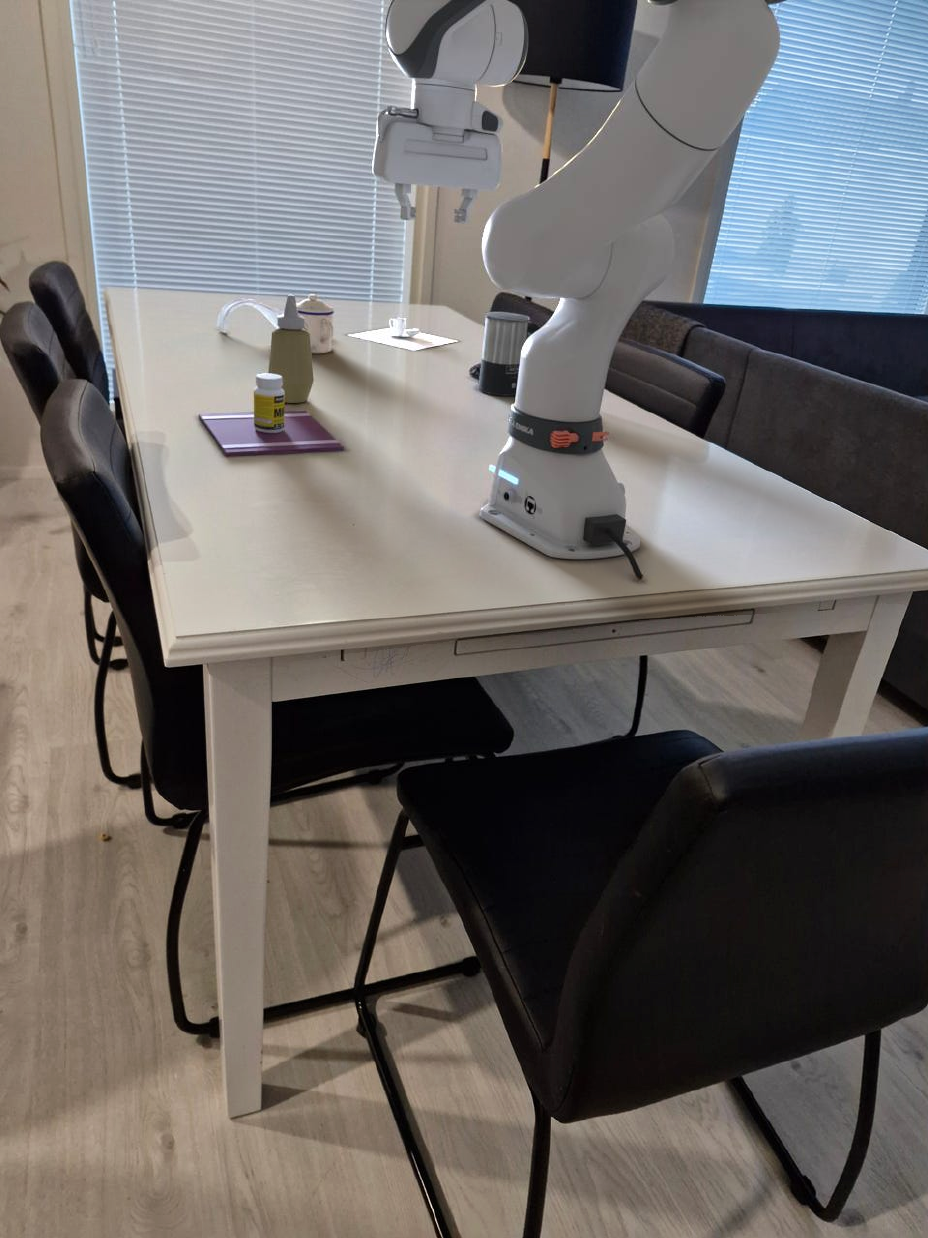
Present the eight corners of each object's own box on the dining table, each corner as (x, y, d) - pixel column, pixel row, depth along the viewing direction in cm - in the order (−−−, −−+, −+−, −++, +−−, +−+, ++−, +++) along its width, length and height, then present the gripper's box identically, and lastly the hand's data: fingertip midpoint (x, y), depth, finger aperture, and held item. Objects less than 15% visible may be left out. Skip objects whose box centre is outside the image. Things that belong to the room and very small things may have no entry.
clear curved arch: (305, 325, 219) (305, 295, 216) (324, 335, 211) (325, 304, 207) (212, 326, 207) (210, 294, 204) (229, 336, 198) (228, 303, 195)
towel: (344, 450, 135) (344, 446, 135) (226, 456, 127) (226, 451, 127) (305, 413, 150) (305, 409, 150) (198, 417, 143) (198, 413, 142)
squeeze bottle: (258, 399, 156) (256, 292, 147) (286, 391, 162) (286, 289, 154) (295, 408, 153) (295, 300, 144) (322, 400, 159) (324, 296, 151)
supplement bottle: (277, 435, 136) (277, 381, 132) (249, 431, 137) (248, 377, 133) (289, 427, 140) (289, 375, 136) (261, 423, 141) (260, 370, 137)
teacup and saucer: (423, 336, 220) (425, 320, 219) (405, 340, 214) (406, 323, 212) (395, 330, 224) (396, 314, 222) (377, 333, 218) (377, 317, 216)
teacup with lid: (283, 346, 196) (283, 291, 190) (318, 343, 201) (319, 290, 196) (313, 358, 188) (314, 301, 183) (348, 355, 194) (350, 300, 188)
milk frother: (504, 399, 173) (513, 321, 166) (441, 381, 181) (448, 306, 174) (542, 389, 183) (552, 316, 176) (481, 373, 191) (489, 302, 184)
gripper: (391, 104, 113) (385, 220, 120) (512, 121, 125) (501, 226, 131) (366, 103, 118) (362, 215, 124) (486, 119, 129) (476, 221, 135)
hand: (434, 221), depth 128 cm, fingers open, 8 cm apart
